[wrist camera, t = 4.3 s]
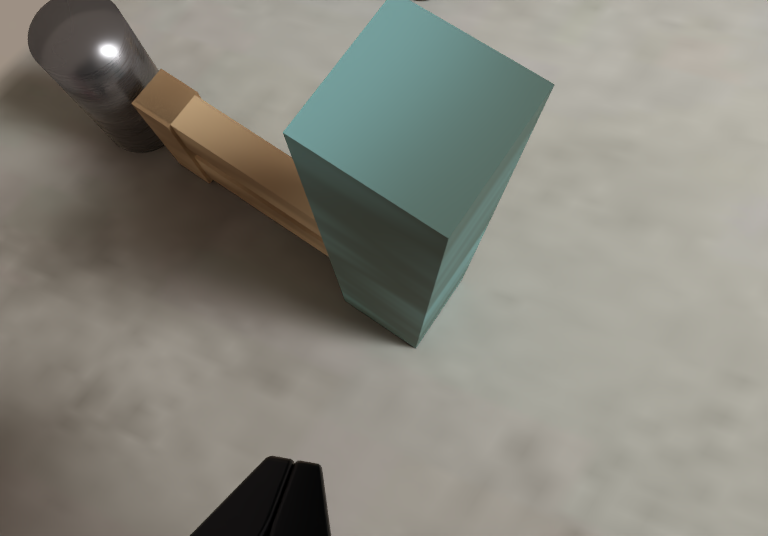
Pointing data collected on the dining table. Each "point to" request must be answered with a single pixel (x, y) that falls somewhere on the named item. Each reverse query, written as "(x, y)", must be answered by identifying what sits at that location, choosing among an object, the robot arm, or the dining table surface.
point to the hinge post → (96, 65)
